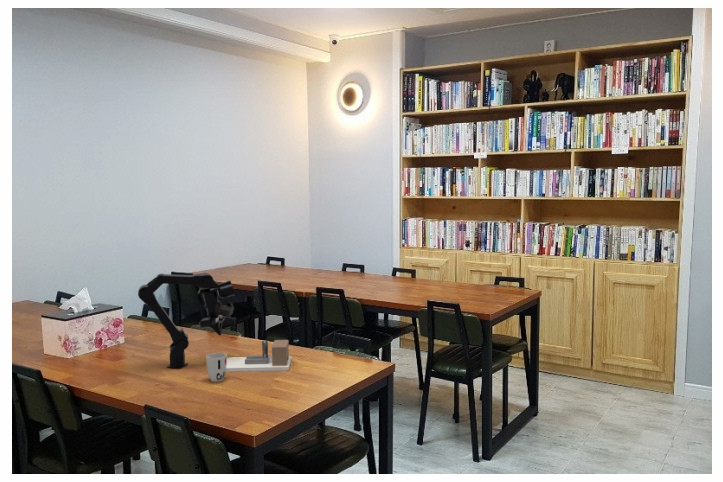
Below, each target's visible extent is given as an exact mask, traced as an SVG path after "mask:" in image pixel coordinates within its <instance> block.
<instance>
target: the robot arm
mask: <svg viewBox="0 0 723 482" xmlns="http://www.w3.org/2000/svg"><path fill="white" fill-rule="evenodd" d="M164 284H166V285H167V284H169V285H193V286H196V287H199V290H198V292H197V295H199V296H201V295H202V297H203V300H204V304H205V305H204V306H203V309H206V313H207V314H206V315H205V316H206V317H204V318H202V319H201V320H200V321H199V322H198V324H199V325H198V326H199V327H200V328H207V327H208V328H209V327H211V328H212V330H214V332H215V333H216V334H217V335H218V336H222V334H223V322H224V321H225V319H226V318H229V317H230V316H231V315H233V313H234V310H235V306H234V303H233V302H231V301H229V302H228V303H227V304H223V303H222V301H221V300H219V298H221V299H226V298H229V297H234V296H236V294H235V292H236V291H235V289H234V287H233V284H232V281H231V280H227V281H224V282H220V283H218V281H215V279H214V278H213V276H212V275H211V274H210V273H208V272H201V273H196V274H195V273H194V274H169V273H168V274H165V273H159V274H157V275H156V276H155V277H154V278H153V279H152V280H150V281H149V282H148V283H146V284H143V285H141V286H139V289H138V291H137V292H138V293H137V296H138V298H139V299H140V300H141V301H142V302H143V303H144V304H145V305H146V306H148V307H149V308H150V309H151V310H152V311H153V313H154V314H155V316H156V317H157V319H158V320H159V321H160V323H161V324H162V325H163V326H164V328H165V329H166V331H167V332H168V334H169V336H170V338H171V340H172V342H171V343H170V345H169V365H167V366H166V368H169V369H176V370H177V369H179V370H180V369H182V368H184V367H186V366H188V365H189V363H187V362H186V354H185V350H186V349H187V348H188V347H189V344H190V343H189V335H188V333H186V332H185V330H184V328H183V327H182V328H180V329H179V328H178V327H177V326H176V324H174V322H173V321H172V319H171V318H170V316H169V315H168V313H167V312H166V311H165V309H164V307H163V306H162V305H161V304H160V302H159V301H158V299H157V296H156V294H155V292H156V291H157V290H158V289H159V288H161V286H163V285H164Z"/></svg>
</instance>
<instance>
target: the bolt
mask: <svg viewBox="0 0 723 482" xmlns="http://www.w3.org/2000/svg"><path fill="white" fill-rule="evenodd" d="M261 349H262V351H261V352H262V353H261V354H262V355H261V356H262V358H261V359H269V362H272V355H270V356H268V355H269V341H268V340H262V341H261Z"/></svg>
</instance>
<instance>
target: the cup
mask: <svg viewBox="0 0 723 482" xmlns="http://www.w3.org/2000/svg"><path fill="white" fill-rule="evenodd" d="M227 357H228V354H227V353H224V352H212V353H208V354H206V355H205V360H206V369H207V375H208V377H209V379H210V381H211V382H212V383H218V382H223V381H224V380H225V377H226V373H227V372H226V364H227Z"/></svg>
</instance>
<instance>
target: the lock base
mask: <svg viewBox="0 0 723 482" xmlns="http://www.w3.org/2000/svg"><path fill="white" fill-rule="evenodd" d="M273 341H274V342H273V344H272V347H271V355H269V354H268V356H272V362H269V359H261V358H262V355H246V356H243V357H242V356H241V357H240V356H234V357H232V356H231V357H228V356H227V364H226V372H225V373H227V372H228V373H232V372H235V373H236V372H272V371H273V372H278V371H280V372H282V371H286V372H287V370H288V371H289V370H290V367H291V363H292V355H291V356H290V350H289V349H290V348H289V345H290V344H289V343H290V342H289V341H290V340H289V339H274V340H273Z"/></svg>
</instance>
